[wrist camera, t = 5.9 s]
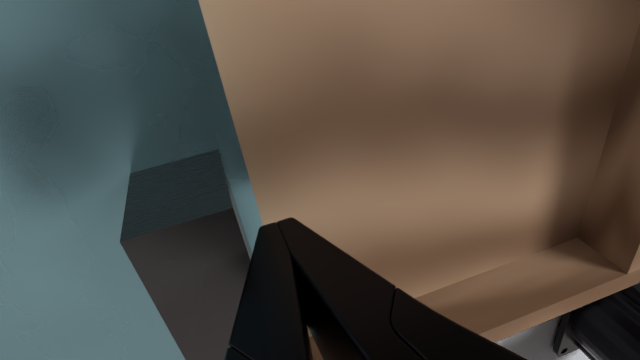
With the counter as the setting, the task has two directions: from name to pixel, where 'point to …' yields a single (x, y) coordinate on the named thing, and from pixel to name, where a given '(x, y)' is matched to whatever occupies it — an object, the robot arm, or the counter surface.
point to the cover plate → (118, 184)
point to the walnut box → (448, 143)
